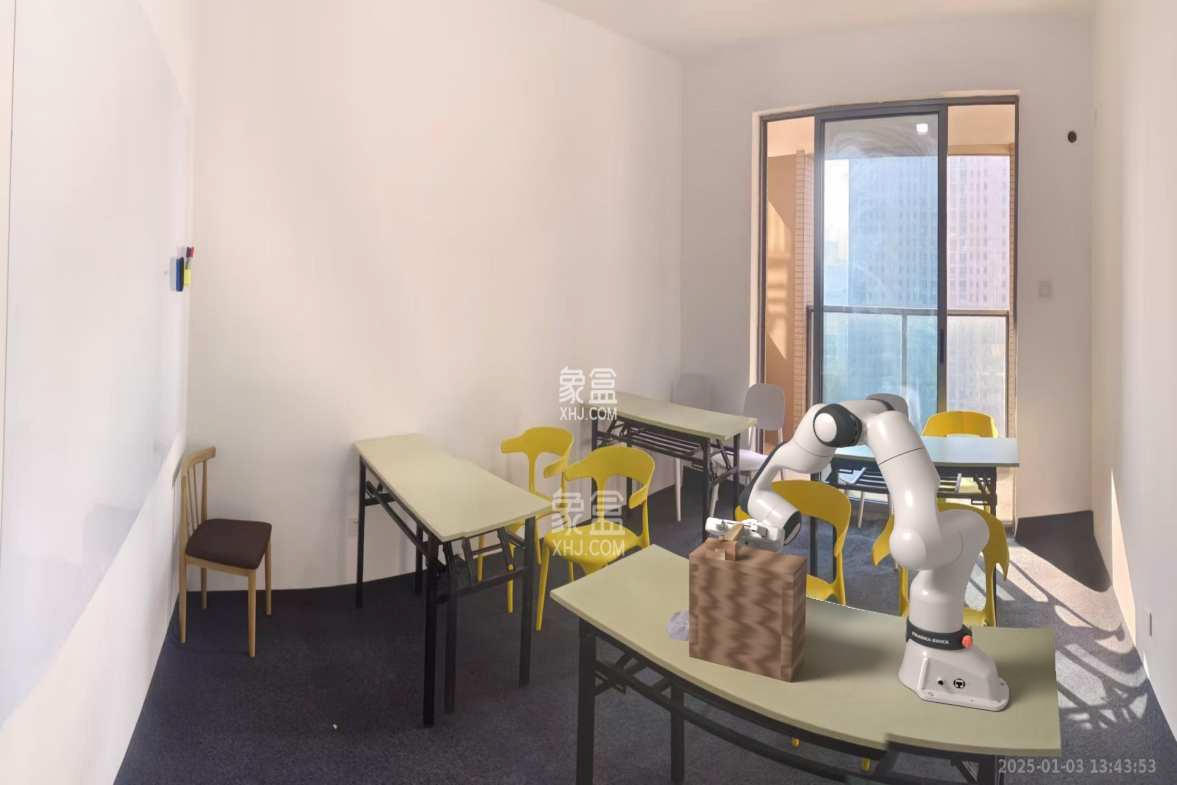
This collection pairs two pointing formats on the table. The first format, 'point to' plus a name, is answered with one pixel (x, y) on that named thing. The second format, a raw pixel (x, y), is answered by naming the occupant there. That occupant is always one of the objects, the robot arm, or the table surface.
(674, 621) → the lavender lumpy chunk
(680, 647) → the table surface
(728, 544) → the marking gauge
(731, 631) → the wood grain box
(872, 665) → the table surface
